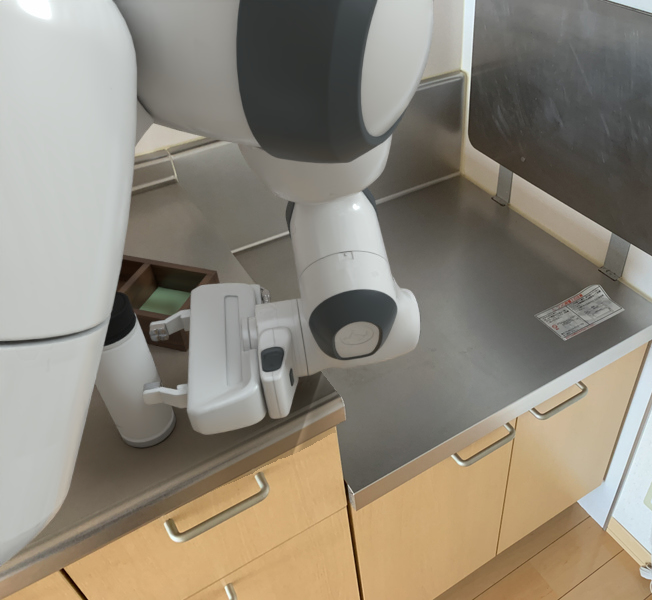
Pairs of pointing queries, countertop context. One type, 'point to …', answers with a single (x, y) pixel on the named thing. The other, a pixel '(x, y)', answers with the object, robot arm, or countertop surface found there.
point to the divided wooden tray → (161, 293)
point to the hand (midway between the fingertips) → (147, 361)
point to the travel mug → (131, 379)
